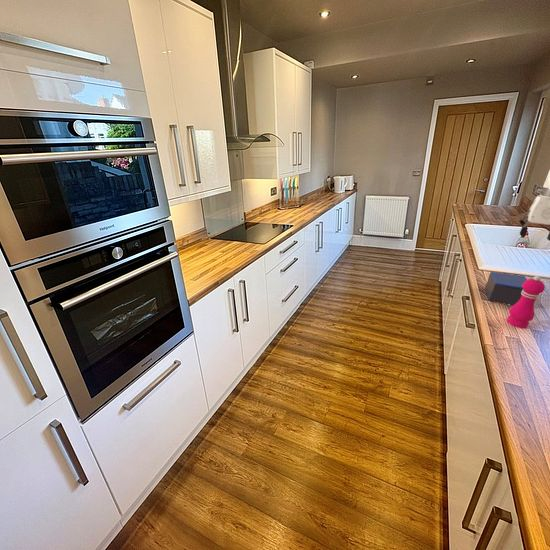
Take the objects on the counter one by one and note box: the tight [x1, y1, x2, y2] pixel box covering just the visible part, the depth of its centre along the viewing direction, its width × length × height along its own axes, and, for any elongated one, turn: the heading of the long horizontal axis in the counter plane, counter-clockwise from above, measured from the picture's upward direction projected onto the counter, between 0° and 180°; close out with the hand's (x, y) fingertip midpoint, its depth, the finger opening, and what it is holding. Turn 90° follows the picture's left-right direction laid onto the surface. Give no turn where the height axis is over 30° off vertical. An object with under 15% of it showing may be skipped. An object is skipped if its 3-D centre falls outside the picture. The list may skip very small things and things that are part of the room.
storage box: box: [484, 272, 524, 306], centre depth 127 cm, size 12×14×8 cm
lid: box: [490, 271, 528, 289], centre depth 125 cm, size 12×14×1 cm
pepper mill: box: [506, 275, 546, 329], centre depth 106 cm, size 7×7×20 cm
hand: (535, 238), depth 115 cm, fingers open, 8 cm apart
